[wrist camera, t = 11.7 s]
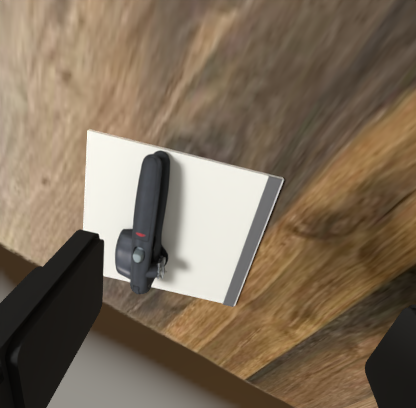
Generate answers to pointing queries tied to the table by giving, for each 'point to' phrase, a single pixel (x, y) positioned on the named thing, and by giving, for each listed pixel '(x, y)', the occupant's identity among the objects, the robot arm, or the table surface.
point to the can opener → (146, 227)
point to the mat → (182, 214)
